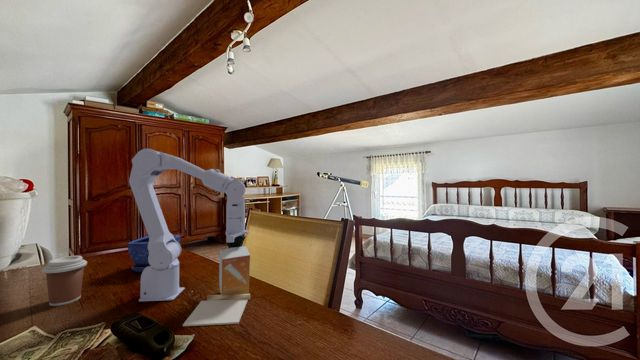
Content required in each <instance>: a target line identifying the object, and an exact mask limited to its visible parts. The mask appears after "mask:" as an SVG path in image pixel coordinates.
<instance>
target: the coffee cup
mask: <svg viewBox="0 0 640 360" xmlns="http://www.w3.org/2000/svg"><path fill="white" fill-rule="evenodd" d="M87 265H88V261H87V260H85V259H83V256H81V255H68V256H61V257H57V258H54V259H50V260H49V261H48V262H47V265H46V266H44V267H43V268H42V270H41V272H42V274H43V273H44V274H45V279H46V288H47V296H48V305H49V306H52V307H60V306H63V305H68V304H72V303H74V302H76V301H78V300H80V299H81V297H82V287H83V279H84V270H85V267H86V266H87Z"/></svg>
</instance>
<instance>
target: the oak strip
mask: <svg viewBox="0 0 640 360" xmlns="http://www.w3.org/2000/svg"><path fill="white" fill-rule="evenodd" d="M206 298H207V299H206V301H209V300H234V299H248V301H250V300H251V293H245V294H226V295H221V294H208V295H207V296H206Z"/></svg>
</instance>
